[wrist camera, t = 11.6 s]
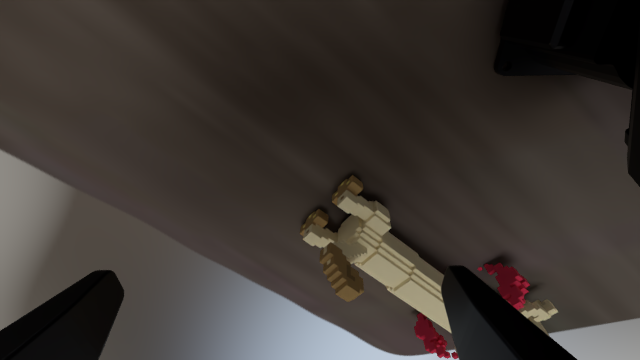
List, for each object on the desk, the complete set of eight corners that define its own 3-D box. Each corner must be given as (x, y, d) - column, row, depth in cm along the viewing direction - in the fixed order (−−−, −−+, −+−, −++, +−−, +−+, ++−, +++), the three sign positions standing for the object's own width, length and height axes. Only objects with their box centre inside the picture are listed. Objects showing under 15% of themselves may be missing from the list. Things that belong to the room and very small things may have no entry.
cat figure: (288, 228, 25) (480, 357, 31) (264, 321, 17) (526, 468, 23) (371, 142, 21) (573, 310, 27) (389, 214, 13) (665, 426, 19)
